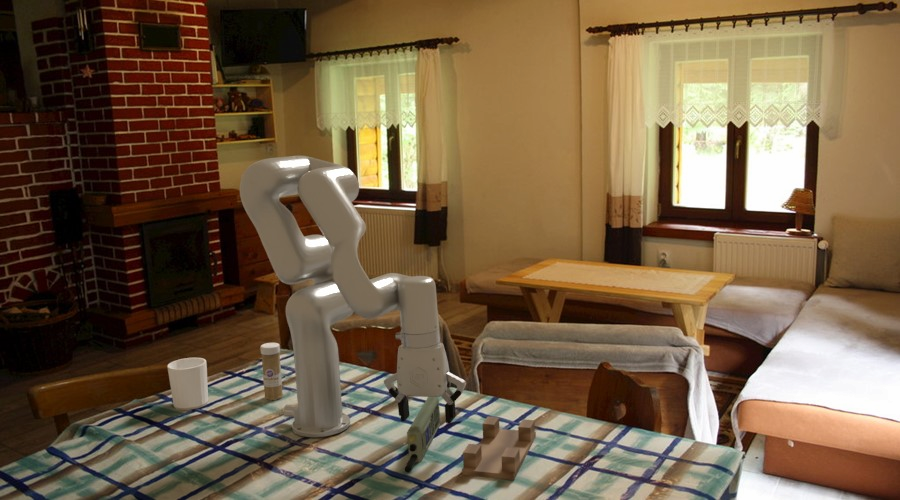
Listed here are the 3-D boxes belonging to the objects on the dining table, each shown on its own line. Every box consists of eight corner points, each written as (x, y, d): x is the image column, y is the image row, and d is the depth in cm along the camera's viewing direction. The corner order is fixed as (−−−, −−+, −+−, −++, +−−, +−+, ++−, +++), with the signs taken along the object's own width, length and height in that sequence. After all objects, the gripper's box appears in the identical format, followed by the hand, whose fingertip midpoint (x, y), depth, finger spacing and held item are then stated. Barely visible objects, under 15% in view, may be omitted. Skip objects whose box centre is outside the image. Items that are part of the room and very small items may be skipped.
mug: (218, 401, 191) (214, 360, 189) (188, 413, 183) (184, 371, 182) (188, 393, 197) (184, 354, 195) (158, 405, 189) (153, 364, 187)
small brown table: (462, 474, 147) (461, 454, 146) (489, 432, 166) (488, 414, 165) (513, 480, 144) (513, 459, 143) (535, 436, 163) (535, 418, 162)
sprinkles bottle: (264, 401, 189) (260, 348, 187) (264, 395, 193) (260, 343, 191) (283, 399, 190) (279, 346, 188) (283, 393, 194) (279, 341, 192)
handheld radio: (443, 424, 172) (416, 476, 148) (428, 424, 172) (400, 476, 148) (440, 395, 171) (413, 443, 146) (425, 395, 171) (396, 443, 147)
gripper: (373, 343, 155) (381, 425, 158) (456, 344, 149) (462, 429, 152) (387, 332, 162) (394, 411, 165) (467, 334, 156) (473, 415, 159)
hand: (427, 420), depth 158 cm, fingers open, 9 cm apart
